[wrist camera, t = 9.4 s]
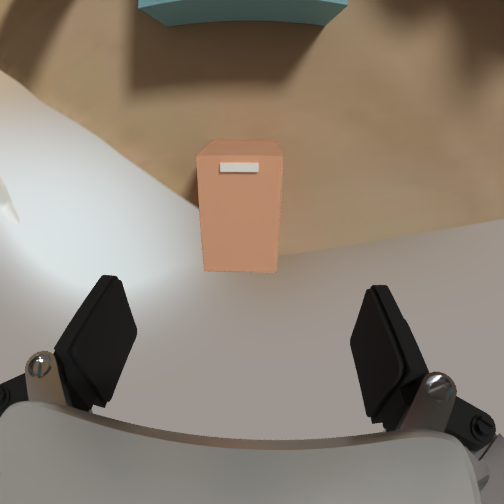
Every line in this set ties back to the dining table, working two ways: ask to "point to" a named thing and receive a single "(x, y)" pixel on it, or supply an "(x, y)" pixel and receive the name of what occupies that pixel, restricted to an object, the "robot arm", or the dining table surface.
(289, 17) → the teal rectangular block
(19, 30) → the dining table surface
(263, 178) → the stub
